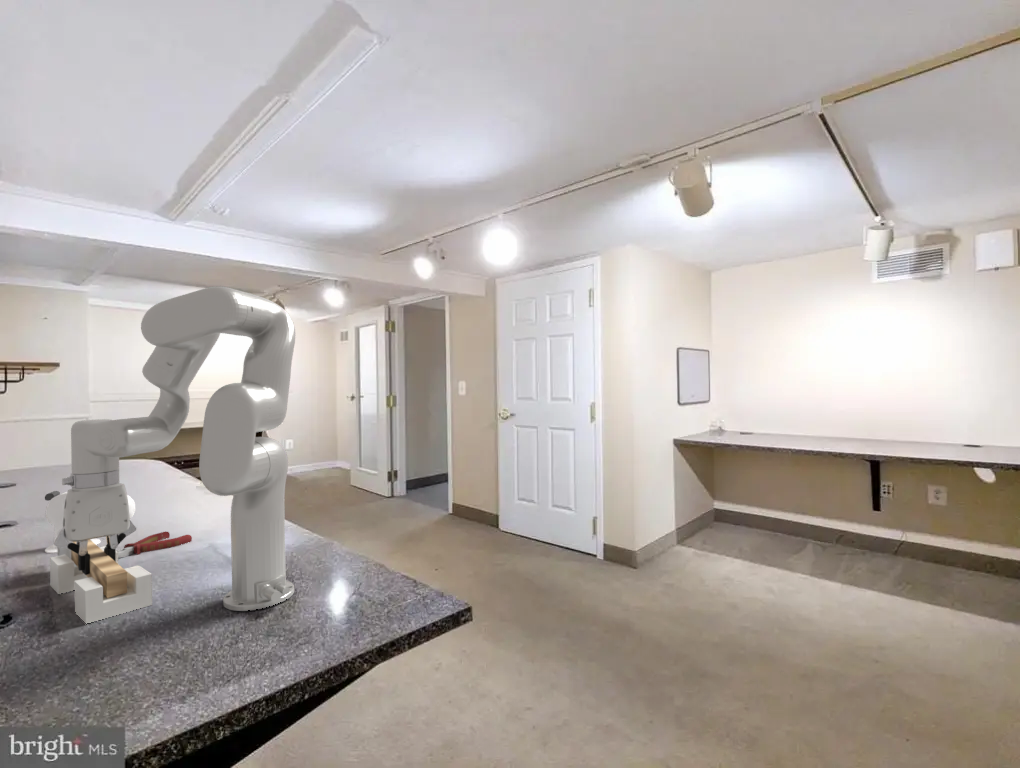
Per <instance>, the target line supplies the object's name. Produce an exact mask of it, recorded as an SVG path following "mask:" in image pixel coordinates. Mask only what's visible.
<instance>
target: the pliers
mask: <svg viewBox="0 0 1020 768" xmlns="http://www.w3.org/2000/svg"><path fill="white" fill-rule="evenodd" d="M166 538H167V539H166ZM192 541H193V537H192V535H191V534H184V535H182V536H178V537H174V538H170V532H169V531H161V532H158V533H155V534H151V535H148V536H146V537H144V538H142V539H140V540H138V541H135V542H134V543H133V542H132V543H126V544H124V546H123V547H122V548H120V549H115V550H116V551H117V552H118V559H121V558H125V557H129V556H131V555H141V553H147V552H153V551H158V550H163V549H170V548H175V547H179V546H182V545H185V543H186V544H188V542H189V543H191V542H192ZM181 544H182V545H181Z"/></svg>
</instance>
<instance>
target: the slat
mask: <svg viewBox="0 0 1020 768" xmlns="http://www.w3.org/2000/svg"><path fill="white" fill-rule="evenodd" d="M73 543H75V544H76V542H73ZM99 547H100V546H98V545H96V544H95V543H93V542H92V541H91V540H90V539H89V540H88V544H87V551H88V554H90V573H89V574H88V575H86V576H87V577H88V578H89V577H92V578H93V579H95V580H96V581H97V582H98V583H99V584H100V585H102V586H103V594H104V595H105V596H106V597H107V598H109V597H113V596H117V595H120V594H124V593H127V571H126V570H125V568H123V566H121V565H120V564H119V562H118V563H116V562H115V561H114V560H113V559H112V558H111V557H110V556H108V555H107V554H106V553H104V551H103V550H101V549H100V548H99ZM71 560H72V561H73V562H74V563H75V564H76V565H77V566H78V554H77V553H75V552H74V551H72V550H71Z"/></svg>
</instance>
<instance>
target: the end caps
mask: <svg viewBox="0 0 1020 768" xmlns="http://www.w3.org/2000/svg"><path fill="white" fill-rule="evenodd" d="M98 547H99V548H100V549H101V550H103V551H104V548H105V547H106V545H104V546H98ZM116 563H118V564H119V558H118V552H117V551H116ZM124 569H125V570H126V571H127V593H124V594H120V595H117V596H113V597H109V598H107V597H106V596H105V595H104V594H103V586H102V585H100V584H99V583H98V582H97V581H96V580H95V579H93V578H92V577H89V578H88V577H87V576H86V575H85V574H84V573H83V572H82V571H79V569H78V566H74V562H73V561H72V560H71V559H70V558H69V557H67V556H66V555H60V556H57V555H56V556H52V557H51V556H50V557H49V575H50V576H49V578H50V579H49V580H50V582H49V585H50V587H51V588H52V589H53V590H54V591H55V592H56V594H57V595H58V594H60V595H62V594H61V593H63V594H66V593H65V592H67V593H70V592H69V591H71V592H74V613H75V612H76V613H75V615H78V616H79V617H80V618H81V619H82V620H83V621H84V622H85V623H86V624H87V623H91V622H94V621H97V622H99V621H98V620H101V621H103V620H102V619H104V620H106V619H105V618H107V619H109V618H108V617H111V618H113V617H112V616H114V617H117V616H120V615H119V614H121V615H124V614H126V612H127V613H131V612H134V611H137V610H140V608H141V609H144V608H146V607H150V606H153V583H152V582H153V580H152V579H153V577H152V576H153V574H152V573H151V572H149V571H148V570H146V569H145V568H143V567H142V566H140V565H134V566H130V567H126V568H124ZM73 590H75V591H73ZM136 609H137V610H136ZM133 610H134V611H133ZM130 611H131V612H130ZM123 613H124V614H123ZM116 615H117V616H116ZM78 616H77V617H78ZM79 617H78V618H79ZM80 618H79V619H80ZM81 619H80V620H81ZM82 620H81V621H82ZM83 621H82V622H83ZM84 622H83V623H84ZM85 623H84V624H85ZM94 623H95V622H94ZM86 624H85V625H86ZM91 624H92V623H91ZM87 625H88V624H87Z"/></svg>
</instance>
